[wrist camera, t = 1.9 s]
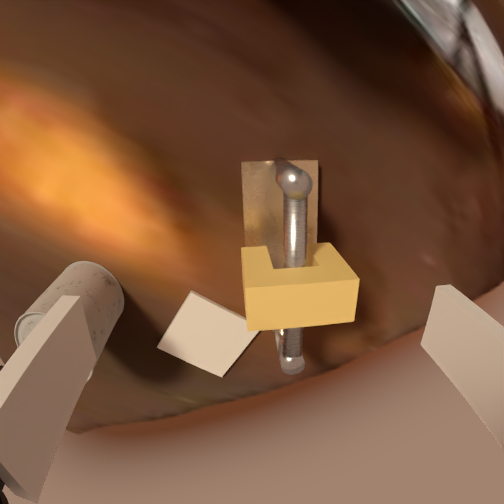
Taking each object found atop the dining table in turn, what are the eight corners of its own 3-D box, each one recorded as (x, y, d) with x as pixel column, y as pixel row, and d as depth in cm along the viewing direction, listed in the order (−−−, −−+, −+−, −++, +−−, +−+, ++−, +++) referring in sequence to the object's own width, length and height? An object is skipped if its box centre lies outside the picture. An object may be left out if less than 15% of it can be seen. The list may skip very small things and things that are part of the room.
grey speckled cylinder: (134, 320, 40) (108, 385, 28) (76, 329, 40) (41, 387, 28) (109, 253, 36) (66, 306, 25) (49, 268, 36) (0, 317, 25)
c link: (243, 283, 34) (247, 331, 26) (241, 247, 32) (245, 287, 24) (327, 277, 34) (353, 321, 26) (329, 242, 32) (359, 279, 25)
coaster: (191, 289, 38) (191, 292, 38) (260, 325, 41) (261, 328, 40) (157, 344, 41) (156, 347, 41) (221, 374, 44) (221, 377, 43)
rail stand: (240, 159, 33) (245, 171, 24) (315, 157, 34) (346, 169, 24) (248, 324, 41) (254, 378, 31) (310, 319, 41) (330, 370, 32)
